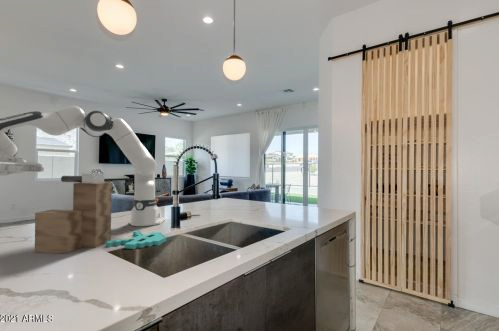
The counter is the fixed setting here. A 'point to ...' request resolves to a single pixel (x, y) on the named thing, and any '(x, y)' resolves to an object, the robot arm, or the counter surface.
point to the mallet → (85, 178)
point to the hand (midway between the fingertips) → (32, 169)
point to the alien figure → (140, 240)
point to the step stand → (76, 221)
